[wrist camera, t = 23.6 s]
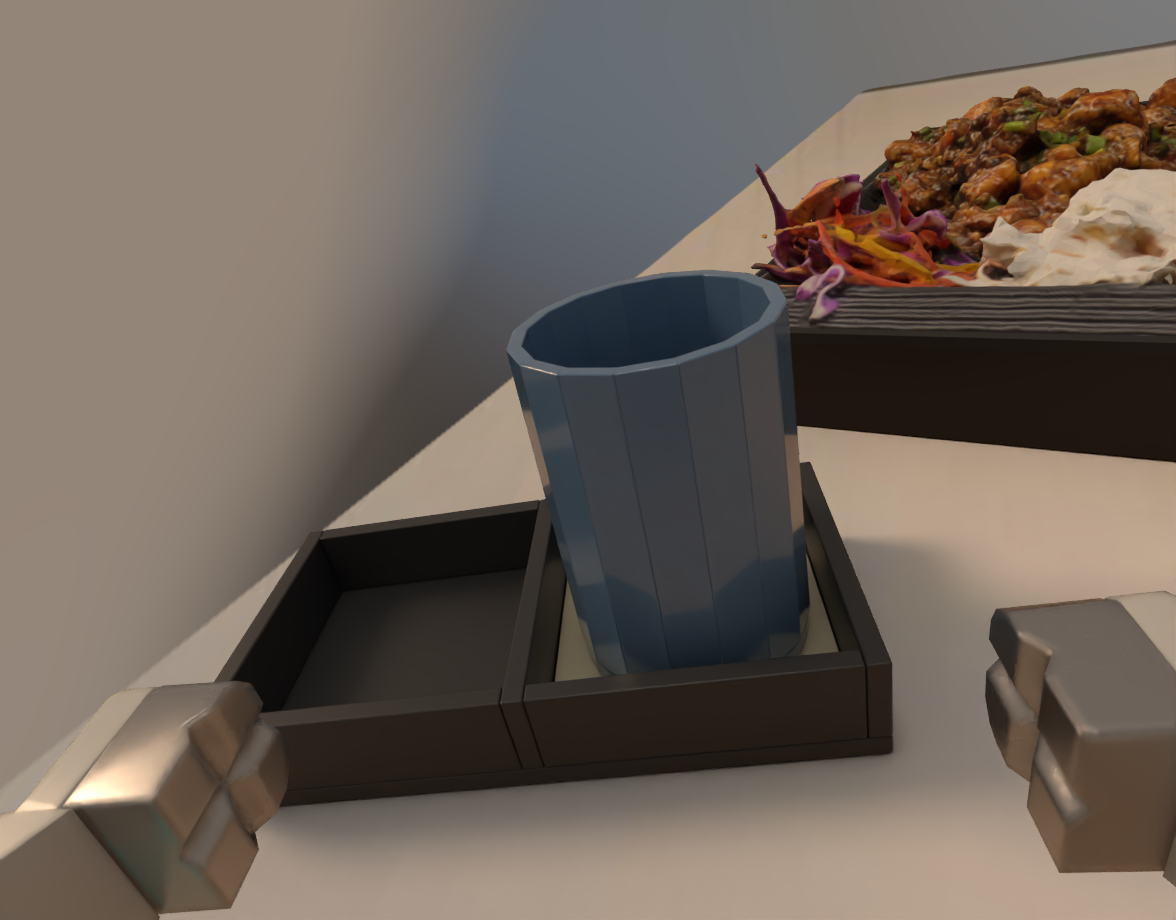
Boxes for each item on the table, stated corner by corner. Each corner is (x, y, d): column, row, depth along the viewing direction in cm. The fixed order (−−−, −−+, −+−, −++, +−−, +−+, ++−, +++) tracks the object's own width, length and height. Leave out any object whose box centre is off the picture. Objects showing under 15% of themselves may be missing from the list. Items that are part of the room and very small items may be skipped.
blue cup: (581, 720, 21) (487, 395, 16) (591, 568, 27) (525, 297, 22) (833, 694, 20) (812, 341, 15) (786, 543, 26) (761, 254, 21)
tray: (226, 811, 22) (176, 737, 20) (338, 595, 30) (309, 531, 28) (893, 753, 19) (892, 663, 18) (815, 534, 27) (810, 460, 26)
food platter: (1418, 484, 23) (1554, 129, 19) (700, 415, 37) (669, 200, 32) (1283, 155, 54) (1321, -11, 49) (917, 184, 68) (918, 56, 63)
